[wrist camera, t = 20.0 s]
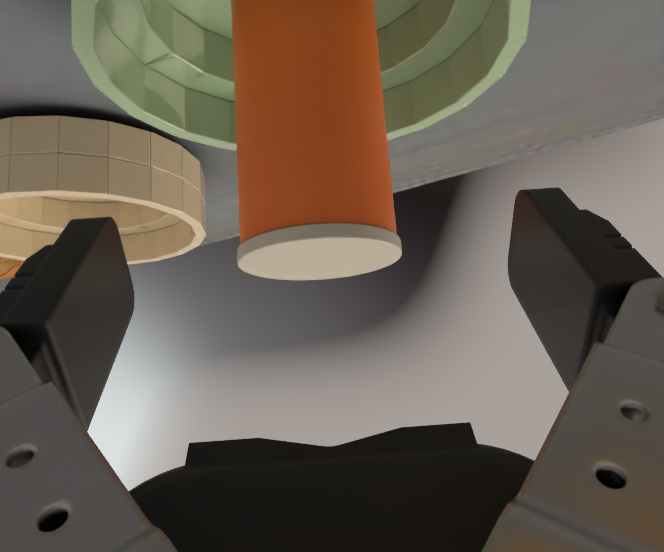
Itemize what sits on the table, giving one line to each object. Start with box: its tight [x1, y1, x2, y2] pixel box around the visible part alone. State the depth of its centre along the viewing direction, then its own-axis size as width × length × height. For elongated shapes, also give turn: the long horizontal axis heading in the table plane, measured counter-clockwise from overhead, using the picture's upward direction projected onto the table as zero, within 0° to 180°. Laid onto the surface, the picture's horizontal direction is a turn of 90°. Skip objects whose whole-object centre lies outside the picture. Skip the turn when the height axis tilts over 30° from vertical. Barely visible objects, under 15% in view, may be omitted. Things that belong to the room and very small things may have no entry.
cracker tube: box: [231, 0, 402, 280], centre depth 18 cm, size 5×5×10 cm
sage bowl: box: [71, 0, 531, 150], centre depth 19 cm, size 13×13×4 cm
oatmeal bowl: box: [0, 115, 206, 264], centre depth 34 cm, size 13×13×4 cm
